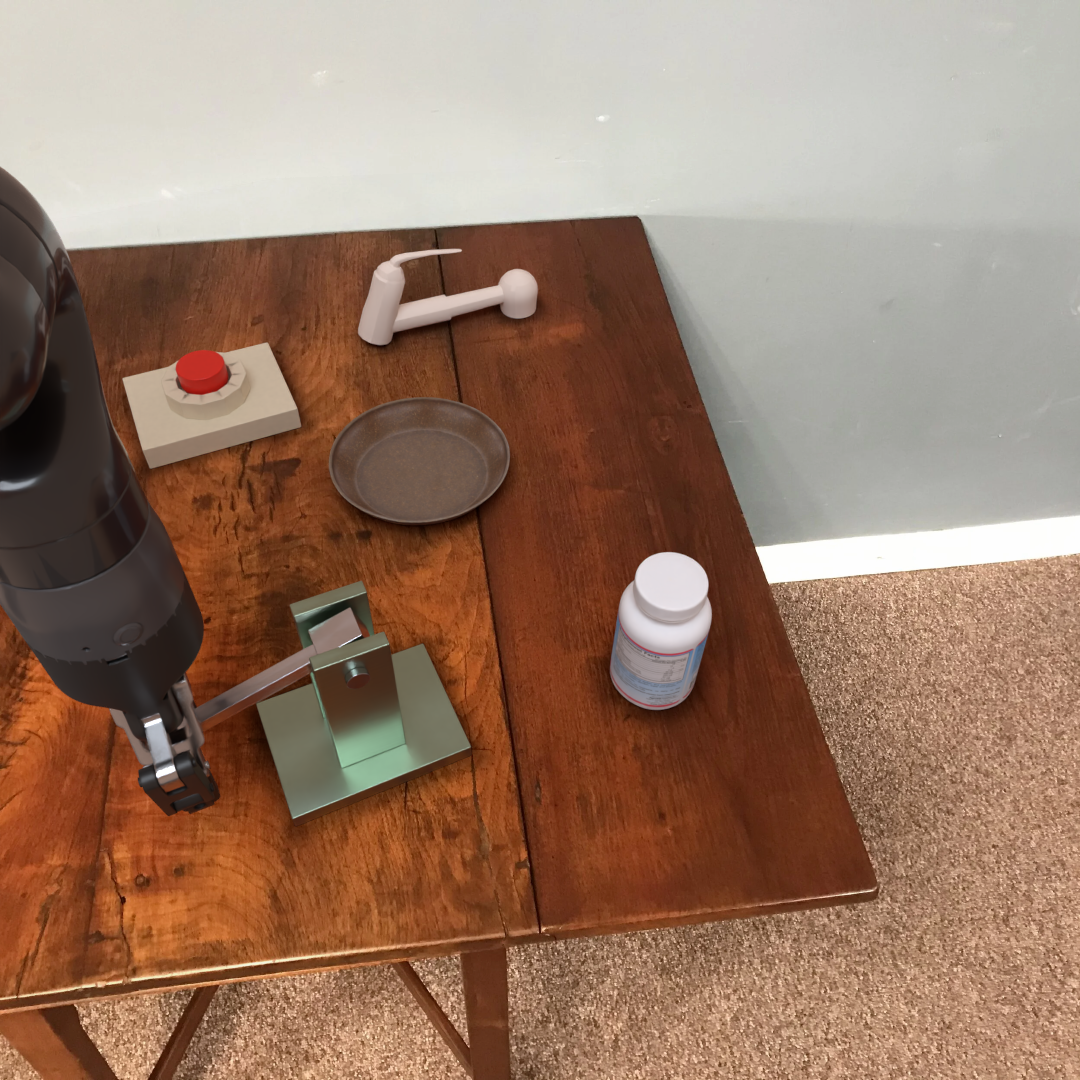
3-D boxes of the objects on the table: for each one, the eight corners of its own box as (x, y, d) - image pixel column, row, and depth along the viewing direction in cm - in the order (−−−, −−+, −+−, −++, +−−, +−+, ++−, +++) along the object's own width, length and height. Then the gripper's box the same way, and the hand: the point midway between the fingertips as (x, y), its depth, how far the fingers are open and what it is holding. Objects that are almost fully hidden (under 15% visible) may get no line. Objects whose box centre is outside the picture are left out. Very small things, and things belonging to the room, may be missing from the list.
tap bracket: (295, 827, 59) (253, 726, 49) (259, 712, 64) (215, 600, 54) (472, 755, 62) (466, 648, 53) (424, 652, 68) (410, 536, 58)
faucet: (526, 355, 97) (559, 271, 91) (364, 346, 88) (387, 252, 82) (512, 332, 99) (543, 249, 93) (352, 321, 91) (374, 228, 84)
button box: (150, 469, 79) (135, 434, 76) (129, 396, 84) (115, 361, 81) (301, 427, 83) (294, 392, 79) (272, 360, 88) (263, 325, 85)
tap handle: (183, 785, 54) (159, 771, 52) (165, 712, 57) (142, 696, 55) (386, 672, 54) (370, 655, 53) (358, 606, 57) (342, 587, 56)
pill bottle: (651, 626, 70) (672, 527, 61) (711, 682, 67) (741, 585, 58) (591, 670, 67) (603, 572, 58) (650, 729, 64) (672, 636, 56)
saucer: (386, 400, 85) (383, 376, 83) (536, 446, 82) (537, 423, 80) (298, 510, 76) (292, 487, 74) (463, 567, 73) (461, 545, 71)
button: (186, 400, 79) (180, 384, 78) (176, 372, 81) (170, 356, 80) (233, 388, 80) (228, 372, 79) (222, 361, 82) (218, 344, 81)
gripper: (-1, 509, 47) (108, 688, 60) (31, 746, 39) (150, 894, 52) (153, 467, 49) (226, 648, 62) (214, 682, 41) (284, 839, 54)
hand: (191, 759), depth 57 cm, fingers closed on tap handle, 5 cm apart
